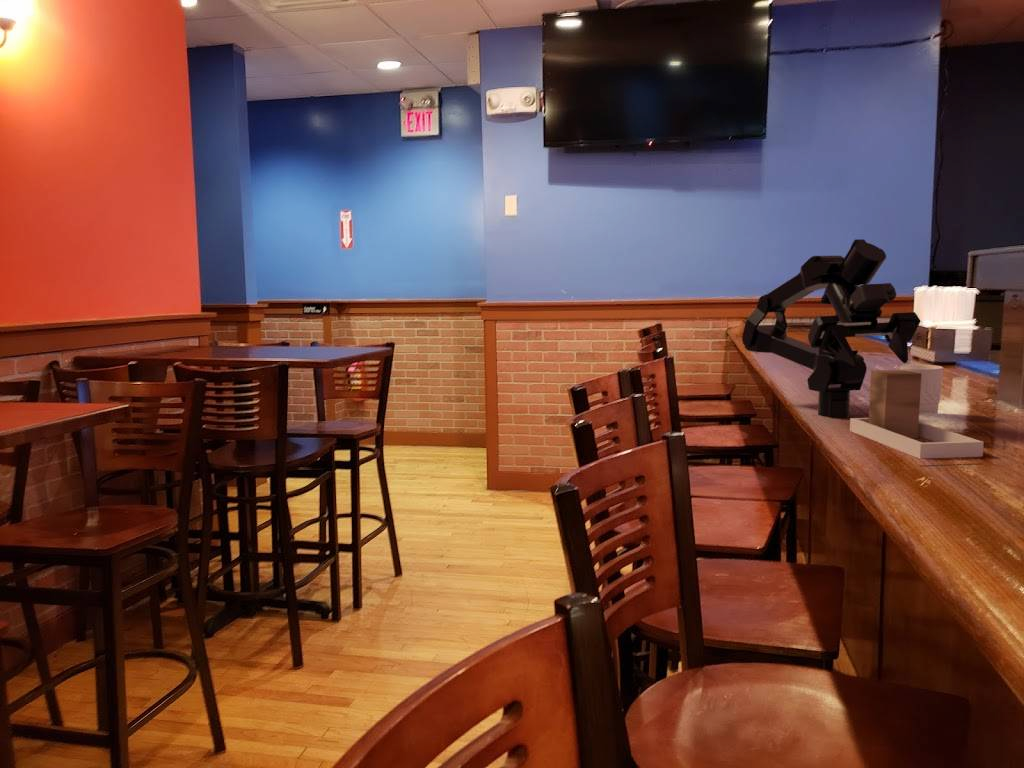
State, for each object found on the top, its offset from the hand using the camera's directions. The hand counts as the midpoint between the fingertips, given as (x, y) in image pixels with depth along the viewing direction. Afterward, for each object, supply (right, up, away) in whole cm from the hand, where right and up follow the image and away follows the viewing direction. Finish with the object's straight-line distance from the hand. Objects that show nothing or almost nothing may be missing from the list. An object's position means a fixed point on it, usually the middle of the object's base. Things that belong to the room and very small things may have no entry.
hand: (880, 362), depth 137 cm
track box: (+1, -15, -8) cm, 17 cm away
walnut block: (+1, -13, -3) cm, 13 cm away
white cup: (+18, -10, +22) cm, 31 cm away
